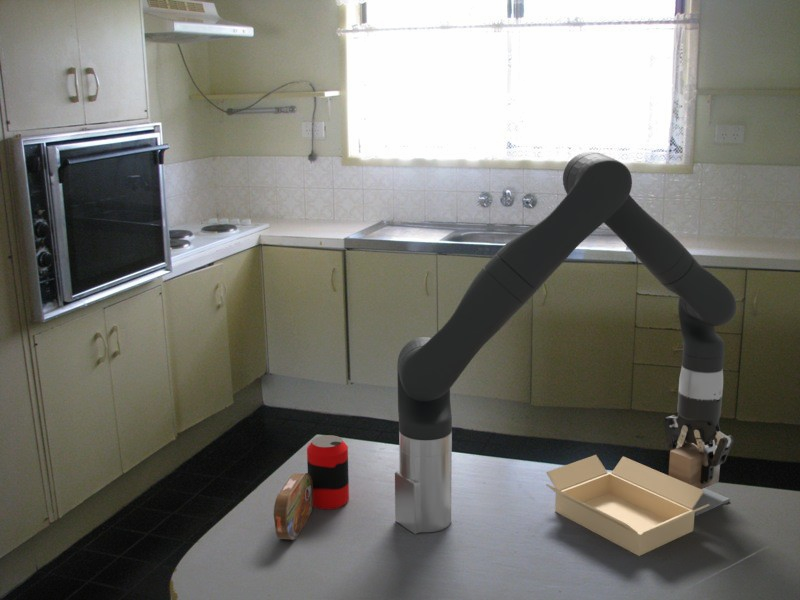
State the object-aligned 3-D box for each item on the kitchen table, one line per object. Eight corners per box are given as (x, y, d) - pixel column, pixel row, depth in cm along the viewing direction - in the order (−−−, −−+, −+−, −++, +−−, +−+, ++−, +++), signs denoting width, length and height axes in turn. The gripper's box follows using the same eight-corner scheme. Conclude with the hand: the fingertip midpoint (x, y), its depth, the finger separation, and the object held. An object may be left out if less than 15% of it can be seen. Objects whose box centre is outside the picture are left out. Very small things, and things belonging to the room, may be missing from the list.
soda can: (333, 513, 158) (331, 452, 155) (300, 503, 162) (298, 444, 159) (356, 497, 164) (355, 438, 162) (324, 488, 168) (322, 430, 165)
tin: (289, 549, 146) (287, 503, 144) (272, 547, 147) (269, 501, 145) (315, 508, 161) (314, 465, 159) (299, 506, 161) (297, 464, 159)
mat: (695, 516, 156) (696, 513, 156) (655, 498, 163) (655, 495, 163) (729, 501, 161) (729, 498, 161) (688, 484, 168) (688, 481, 168)
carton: (641, 571, 138) (644, 533, 137) (530, 510, 159) (531, 476, 157) (720, 533, 150) (723, 498, 148) (606, 481, 170) (608, 449, 169)
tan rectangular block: (688, 494, 157) (690, 459, 155) (667, 486, 161) (670, 450, 159) (718, 481, 162) (721, 447, 160) (698, 473, 166) (700, 439, 164)
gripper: (654, 384, 161) (649, 469, 165) (722, 406, 149) (714, 497, 153) (680, 376, 165) (674, 460, 169) (748, 397, 153) (740, 486, 157)
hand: (693, 477), depth 161 cm, fingers closed on tan rectangular block, 4 cm apart
